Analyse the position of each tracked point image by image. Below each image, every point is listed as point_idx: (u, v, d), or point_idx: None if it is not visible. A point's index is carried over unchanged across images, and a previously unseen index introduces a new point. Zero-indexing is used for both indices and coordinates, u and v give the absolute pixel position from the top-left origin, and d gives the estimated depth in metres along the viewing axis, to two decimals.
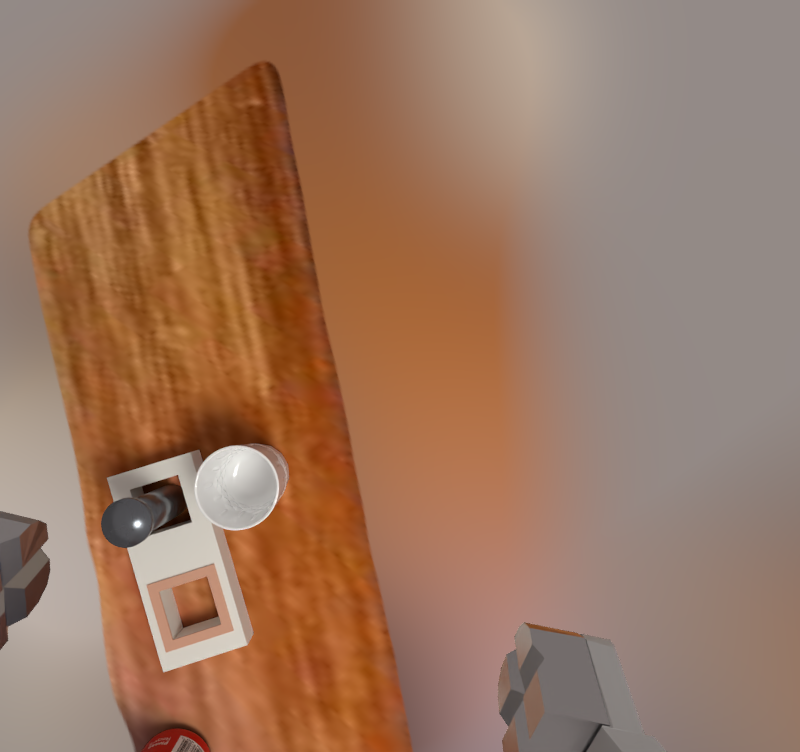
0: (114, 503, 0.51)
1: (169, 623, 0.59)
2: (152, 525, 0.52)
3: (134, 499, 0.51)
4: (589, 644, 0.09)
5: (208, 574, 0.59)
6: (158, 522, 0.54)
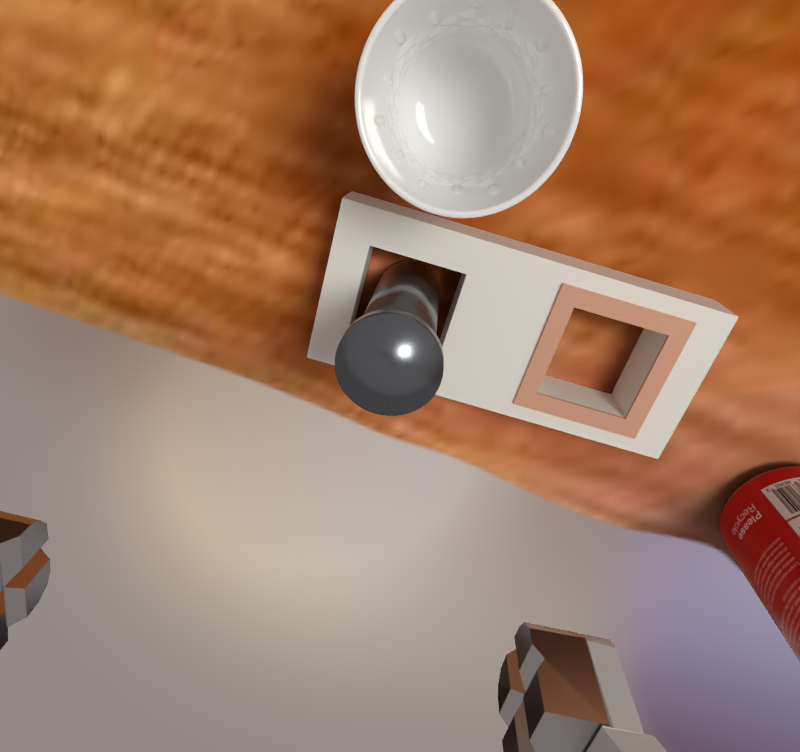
0: (337, 364, 0.23)
1: (596, 408, 0.32)
2: (425, 325, 0.22)
3: (353, 326, 0.22)
4: (589, 645, 0.09)
5: (573, 303, 0.29)
6: (428, 317, 0.25)
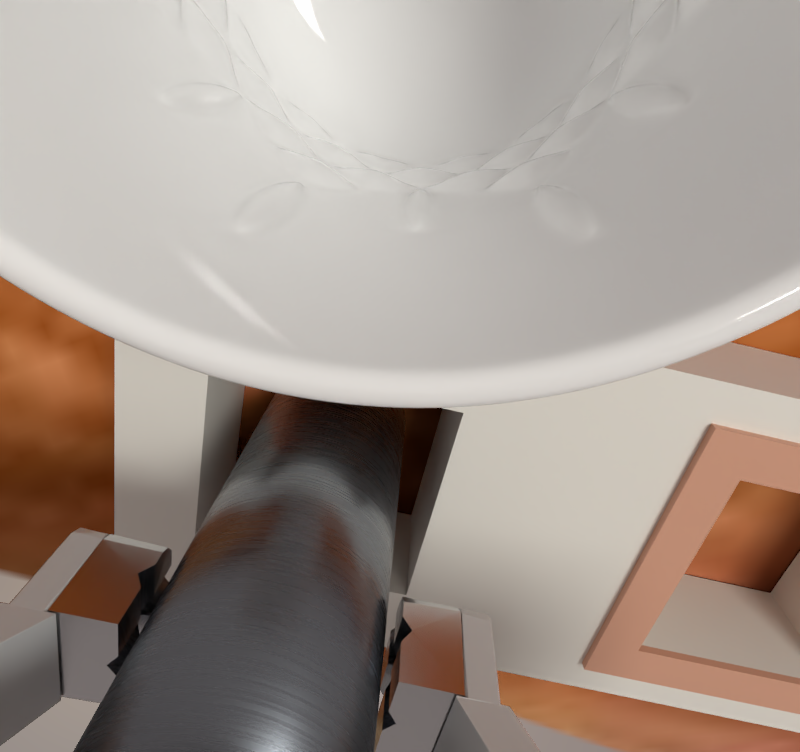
0: None
1: (768, 666, 0.14)
2: None
3: None
4: (464, 618, 0.09)
5: (738, 471, 0.11)
6: (344, 650, 0.07)
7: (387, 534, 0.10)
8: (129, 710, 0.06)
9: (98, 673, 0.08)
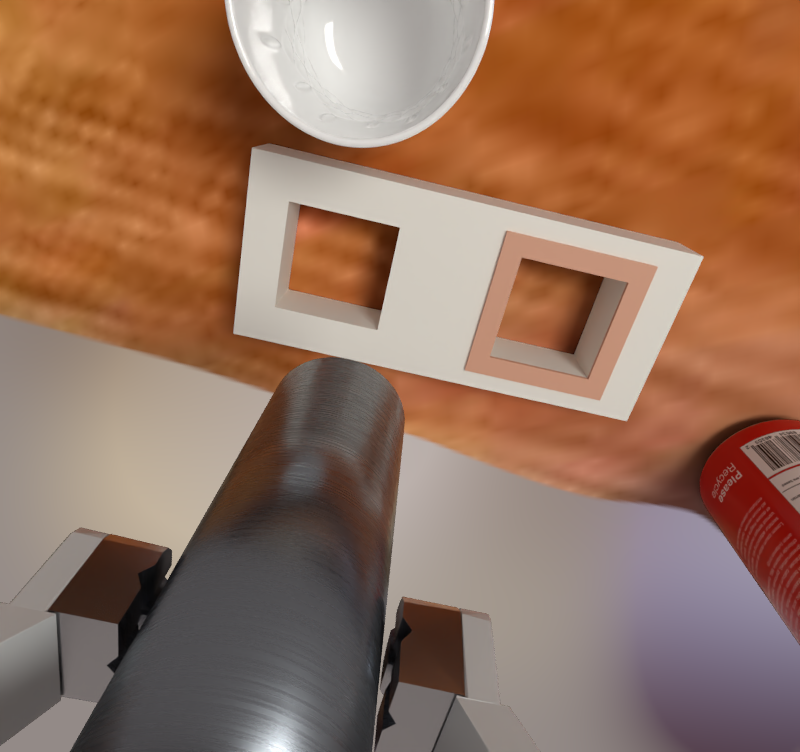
0: None
1: (555, 369, 0.29)
2: None
3: None
4: (464, 617, 0.09)
5: (520, 252, 0.26)
6: (342, 650, 0.07)
7: (385, 534, 0.10)
8: (126, 710, 0.06)
9: (98, 673, 0.08)
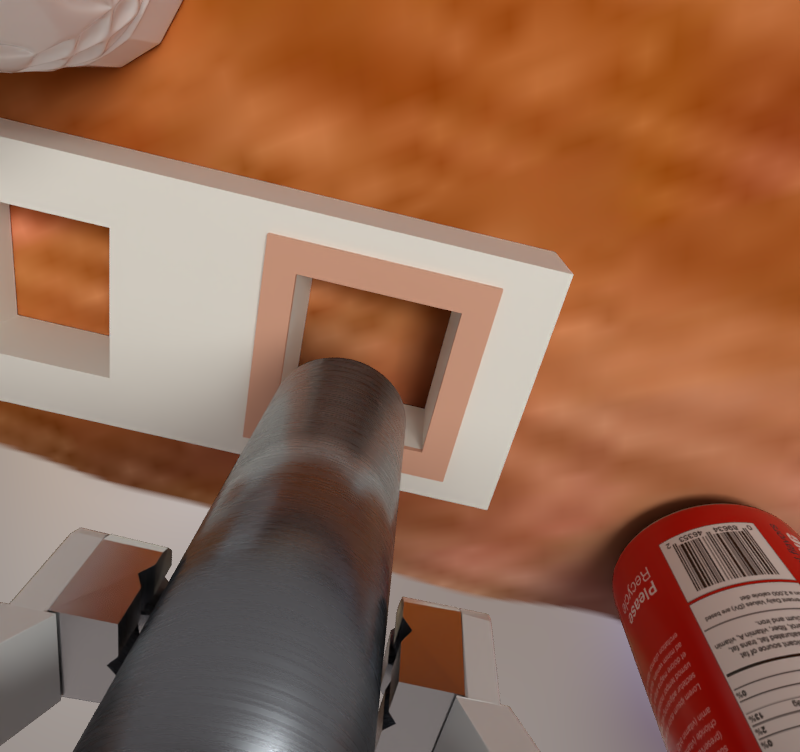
0: None
1: None
2: None
3: None
4: (464, 618, 0.09)
5: (291, 266, 0.17)
6: (344, 651, 0.07)
7: (387, 534, 0.10)
8: (128, 712, 0.06)
9: (98, 673, 0.08)
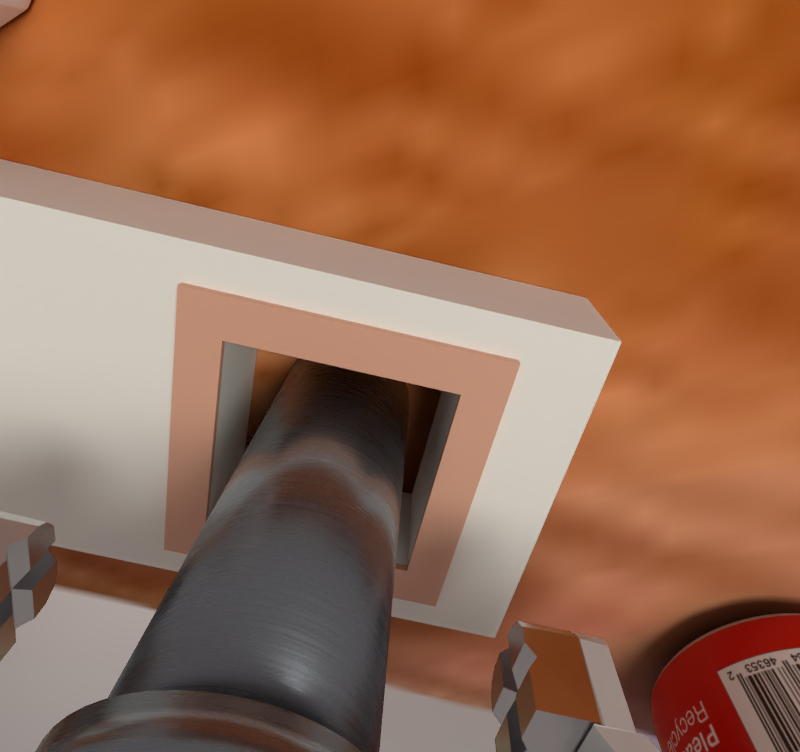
0: None
1: None
2: None
3: None
4: (582, 643, 0.09)
5: (215, 330, 0.12)
6: (359, 591, 0.08)
7: (394, 499, 0.11)
8: (173, 633, 0.07)
9: None
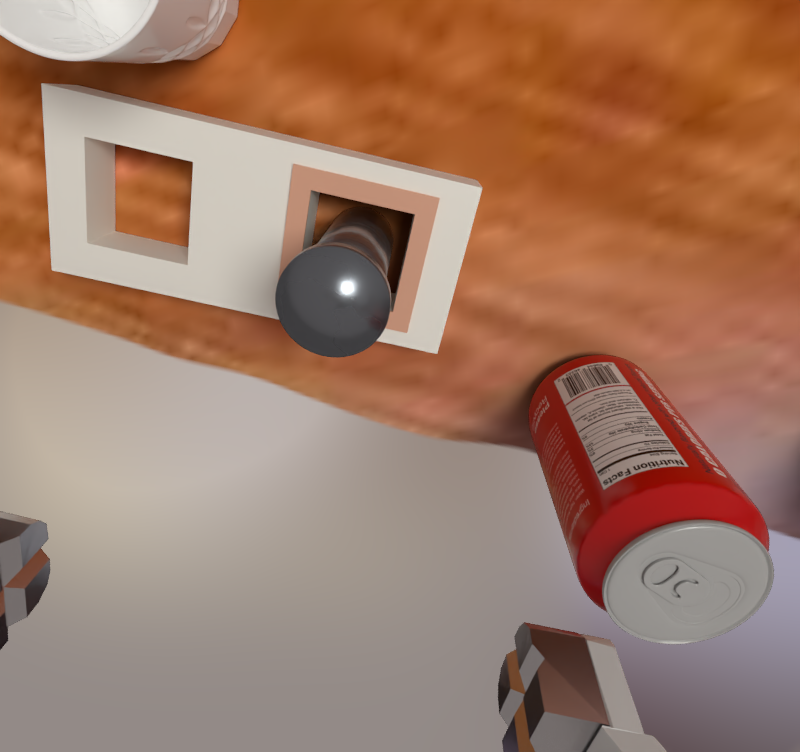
0: (279, 305, 0.22)
1: None
2: (368, 257, 0.21)
3: (291, 262, 0.21)
4: (589, 645, 0.09)
5: (308, 185, 0.27)
6: (374, 254, 0.24)
7: (386, 252, 0.27)
8: None
9: None
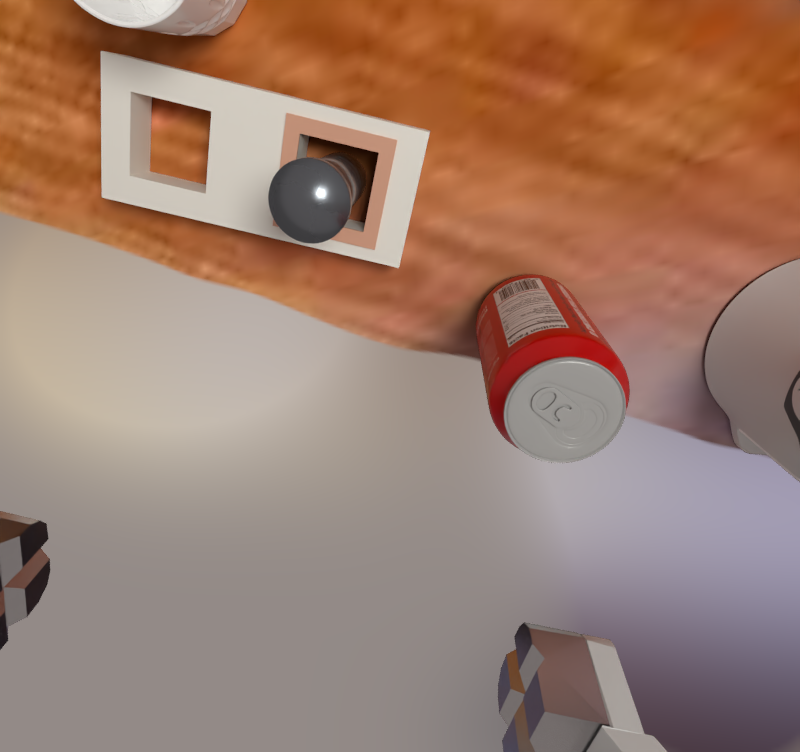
0: (271, 202, 0.30)
1: None
2: (334, 167, 0.30)
3: (279, 170, 0.30)
4: (589, 645, 0.09)
5: (297, 129, 0.36)
6: (342, 173, 0.33)
7: (355, 178, 0.35)
8: None
9: None
